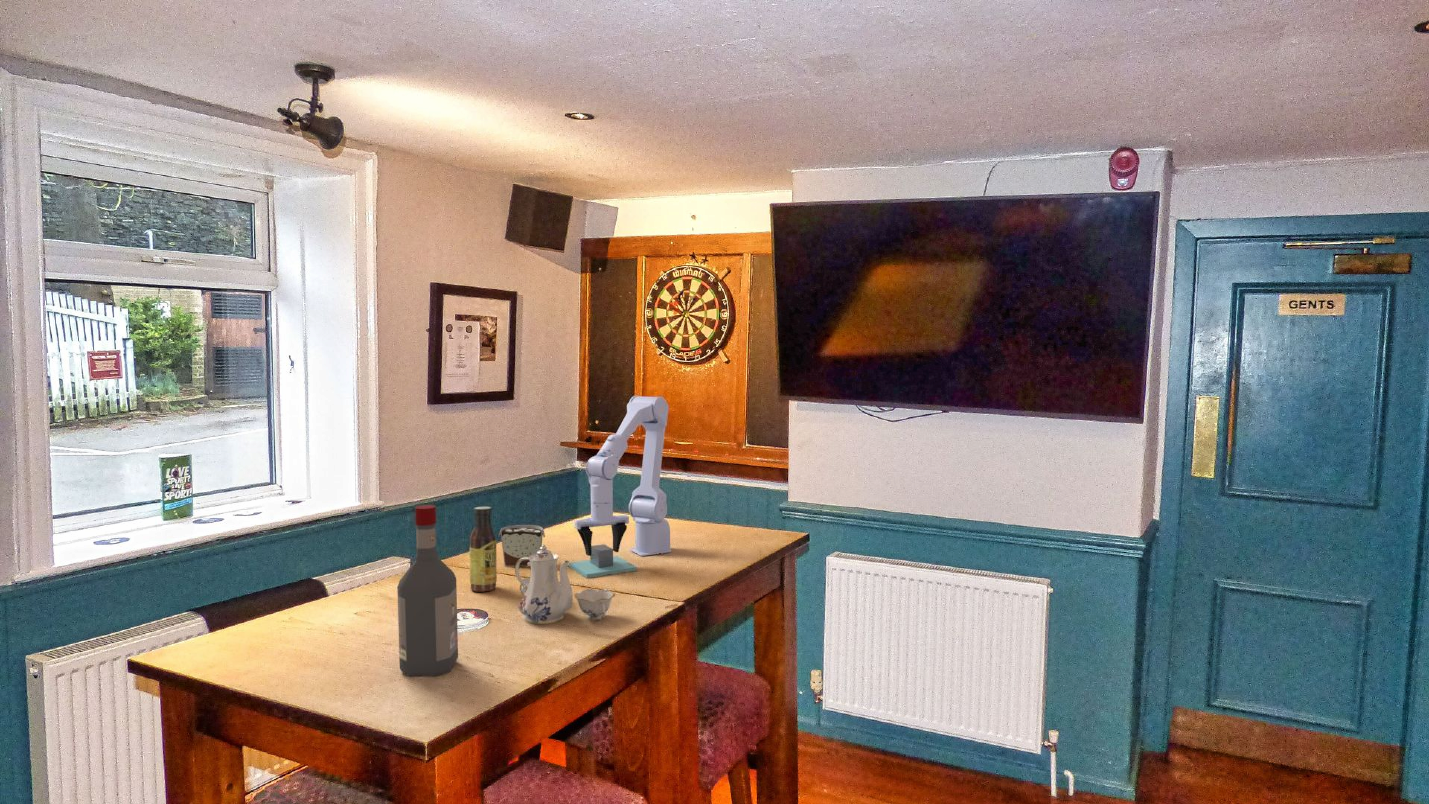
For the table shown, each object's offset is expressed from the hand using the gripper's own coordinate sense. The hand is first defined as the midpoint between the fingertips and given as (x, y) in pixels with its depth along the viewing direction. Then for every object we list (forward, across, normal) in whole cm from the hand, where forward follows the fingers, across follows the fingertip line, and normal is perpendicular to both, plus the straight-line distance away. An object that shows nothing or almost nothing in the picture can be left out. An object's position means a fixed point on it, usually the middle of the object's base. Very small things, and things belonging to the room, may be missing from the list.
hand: (602, 553), depth 229 cm
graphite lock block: (+3, 0, 0) cm, 3 cm away
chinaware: (+4, +23, +30) cm, 38 cm away
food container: (+4, +16, -15) cm, 22 cm away
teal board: (+4, 0, 0) cm, 4 cm away
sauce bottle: (+4, +32, +3) cm, 32 cm away
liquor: (+4, +54, +48) cm, 72 cm away
